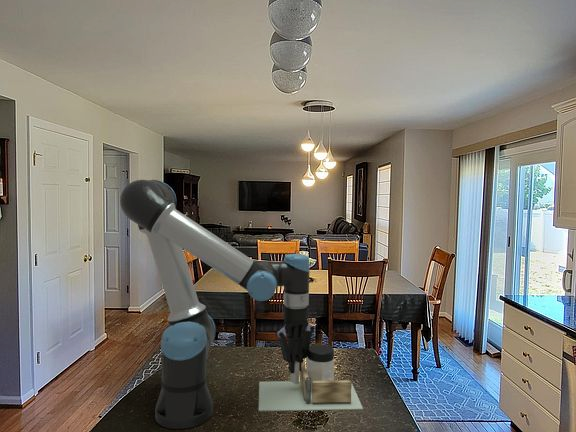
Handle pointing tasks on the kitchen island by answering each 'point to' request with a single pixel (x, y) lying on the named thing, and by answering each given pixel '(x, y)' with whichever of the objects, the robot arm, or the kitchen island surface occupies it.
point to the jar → (320, 363)
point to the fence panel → (303, 379)
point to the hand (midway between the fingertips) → (294, 382)
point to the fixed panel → (331, 391)
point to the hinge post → (308, 390)
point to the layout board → (297, 398)
